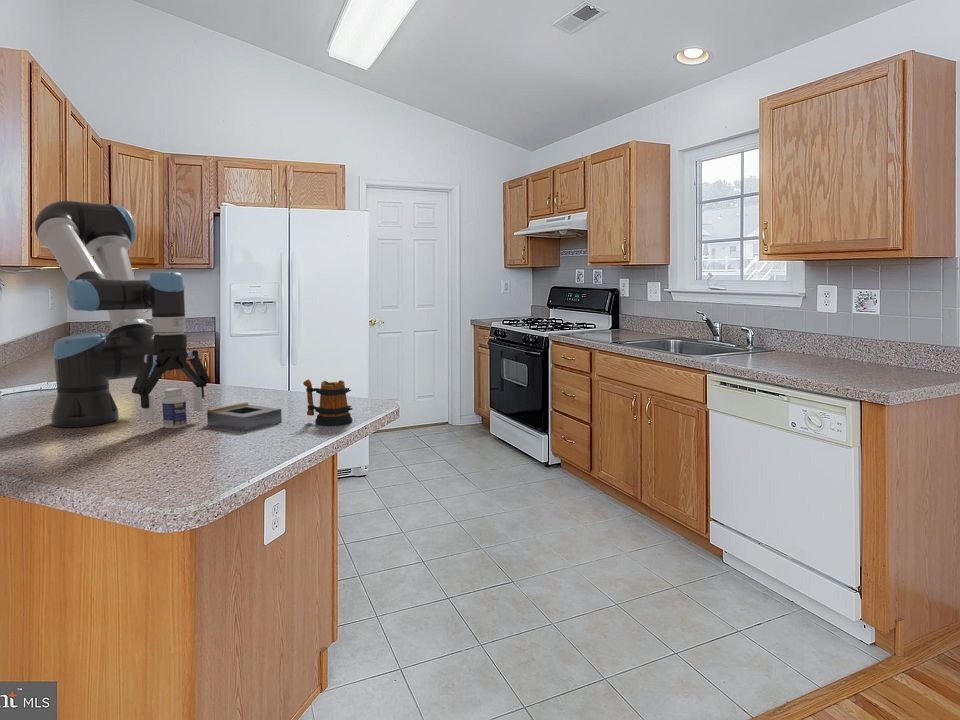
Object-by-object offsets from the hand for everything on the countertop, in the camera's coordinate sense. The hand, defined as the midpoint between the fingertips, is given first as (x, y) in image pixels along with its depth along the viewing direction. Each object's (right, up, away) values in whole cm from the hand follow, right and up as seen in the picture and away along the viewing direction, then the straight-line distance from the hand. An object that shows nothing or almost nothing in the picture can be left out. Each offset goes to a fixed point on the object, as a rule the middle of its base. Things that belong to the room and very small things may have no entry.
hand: (174, 415), depth 158 cm
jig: (+17, -2, +4) cm, 17 cm away
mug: (+38, -2, +5) cm, 39 cm away
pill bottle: (0, -3, 0) cm, 3 cm away
